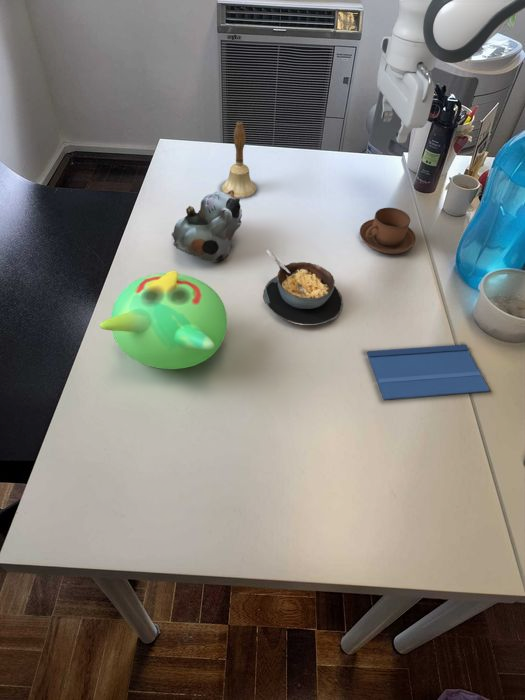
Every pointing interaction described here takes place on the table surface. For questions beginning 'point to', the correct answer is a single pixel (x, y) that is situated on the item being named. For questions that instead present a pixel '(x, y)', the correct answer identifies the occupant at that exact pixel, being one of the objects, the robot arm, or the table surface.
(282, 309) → the soup bowl
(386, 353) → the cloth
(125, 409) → the table surface
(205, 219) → the lucky cat figurine
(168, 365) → the toy bird
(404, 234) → the cup and saucer
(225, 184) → the hand bell
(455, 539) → the table surface
